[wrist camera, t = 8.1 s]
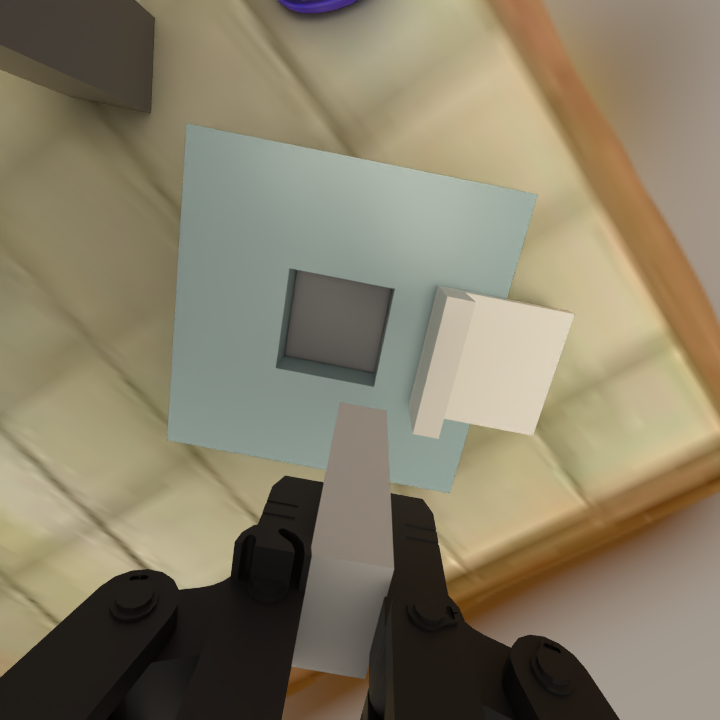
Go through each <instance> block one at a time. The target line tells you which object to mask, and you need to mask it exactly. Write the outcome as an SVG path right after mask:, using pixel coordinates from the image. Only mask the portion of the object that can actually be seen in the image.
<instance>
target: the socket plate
mask: <svg viewBox="0 0 720 720" xmlns="http://www.w3.org/2000/svg"><path fill="white" fill-rule="evenodd" d="M537 195H538V194H534V193H529V192H524V191H519V190H514V189H509V188H504V187H499V186H494V185H489V184H484V183H479V182H474V181H469V180H464V179H459V178H454V177H449V176H444V175H439V174H435V173H430V172H425V171H420V170H415V169H410V168H405V167H400V166H395V165H390V164H385V163H380V162H375V161H370V160H365V159H360V158H355V157H350V156H345V155H340V154H336V153H331V152H326V151H321V150H316V149H311V148H306V147H301V146H296V145H291V144H286V143H281V142H276V141H271V140H266V139H261V138H256V137H251V136H246V135H241V134H237V133H232V132H227V131H222V130H217V129H212V128H207V127H202V126H197V125H192V124H187V123H186V140H185V156H184V172H183V189H182V205H181V221H180V237H179V254H178V270H177V286H176V303H175V319H174V335H173V351H172V368H171V384H170V400H169V417H168V433H167V440H170V441H175V442H180V443H185V444H191V445H196V446H201V447H207V448H212V449H217V450H222V451H228V452H233V453H238V454H244V455H249V456H254V457H260V458H265V459H270V460H275V461H281V462H286V463H291V464H297V465H302V466H307V467H313V468H318V469H323V470H326V469H327V464H328V459H329V454H330V449H331V444H332V439H333V434H334V429H335V424H336V419H337V414H338V409H339V404H340V402H343V403H348V404H354V405H359V406H364V407H370V408H375V409H381V410H386V411H387V428H388V449H389V470H390V482H392V483H397V484H403V485H408V486H413V487H419V488H424V489H429V490H434V491H440V492H445V493H450V491H451V487H452V484H453V480H454V477H455V474H456V470H457V467H458V463H459V460H460V457H461V453H462V450H463V447H464V443H465V440H466V436H467V433H468V430H469V426H470V424H469V423H464V422H459V421H453V420H448V419H444V421H443V425H442V428H441V432H440V436H439V439H436V438H431V437H426V436H421V435H415V434H413V432H412V426H411V419H410V413H409V406H408V405H409V401H410V397H411V393H412V389H413V385H414V381H415V377H416V372H417V368H418V364H419V360H420V356H421V352H422V348H423V344H424V340H425V335H426V331H427V327H428V323H429V319H430V315H431V311H432V307H433V303H434V299H435V294H436V290H437V286H438V285H440V286H445V287H450V288H455V289H460V290H465V291H470V292H475V293H481V294H486V295H491V296H496V297H501V298H506V299H507V297H508V294H509V290H510V287H511V284H512V280H513V277H514V273H515V270H516V267H517V263H518V260H519V256H520V253H521V250H522V246H523V243H524V240H525V236H526V233H527V229H528V226H529V223H530V219H531V216H532V212H533V209H534V206H535V202H536V199H537ZM391 290H392V292H391ZM390 294H391V296H390ZM389 299H390V301H389ZM388 304H389V306H388ZM387 309H388V311H387ZM386 313H387V315H386ZM385 318H386V320H385ZM384 323H385V325H384ZM383 328H384V329H383ZM382 332H383V334H382ZM381 337H382V339H381ZM380 342H381V344H380ZM379 346H380V348H379ZM378 351H379V353H378ZM377 356H378V358H377ZM376 361H377V362H376ZM375 365H376V367H375ZM374 370H375V372H374Z"/></svg>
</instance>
